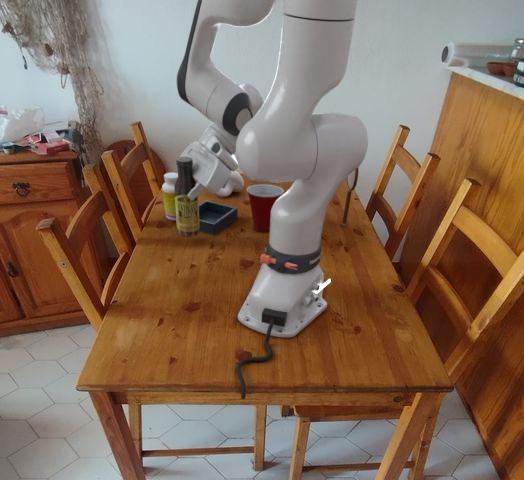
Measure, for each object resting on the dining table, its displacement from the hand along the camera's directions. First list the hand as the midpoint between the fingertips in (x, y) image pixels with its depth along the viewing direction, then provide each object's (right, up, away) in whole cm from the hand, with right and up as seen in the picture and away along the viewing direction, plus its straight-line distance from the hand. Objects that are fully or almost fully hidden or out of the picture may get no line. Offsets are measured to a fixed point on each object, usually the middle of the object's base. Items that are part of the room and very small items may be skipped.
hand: (183, 192), depth 108 cm
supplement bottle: (-6, +1, +22) cm, 23 cm away
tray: (+5, -2, +20) cm, 20 cm away
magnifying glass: (+46, -3, +21) cm, 51 cm away
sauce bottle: (0, -8, +8) cm, 12 cm away
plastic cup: (+21, -4, +18) cm, 28 cm away
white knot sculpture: (+7, +14, +37) cm, 40 cm away
